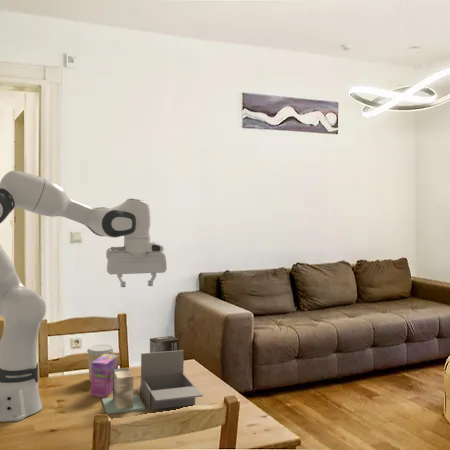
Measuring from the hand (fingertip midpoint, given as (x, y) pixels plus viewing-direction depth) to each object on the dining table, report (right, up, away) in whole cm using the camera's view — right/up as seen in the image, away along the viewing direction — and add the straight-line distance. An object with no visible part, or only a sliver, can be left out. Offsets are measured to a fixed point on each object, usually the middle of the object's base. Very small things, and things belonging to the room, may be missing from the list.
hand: (136, 286), depth 187 cm
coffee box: (+8, -37, +14) cm, 40 cm away
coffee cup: (-16, -36, +14) cm, 42 cm away
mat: (-3, -38, -10) cm, 39 cm away
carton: (+12, -38, -7) cm, 40 cm away
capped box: (-3, -37, -10) cm, 38 cm away
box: (-11, -37, +2) cm, 39 cm away
